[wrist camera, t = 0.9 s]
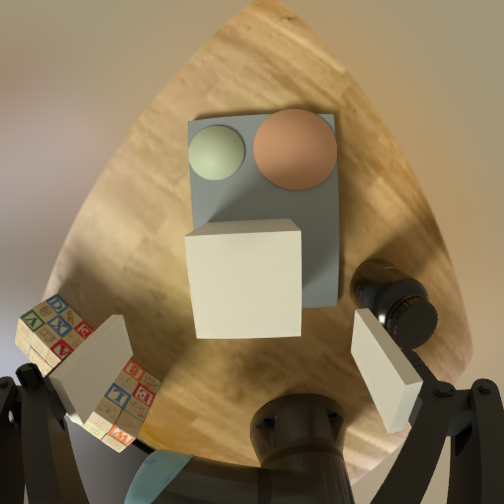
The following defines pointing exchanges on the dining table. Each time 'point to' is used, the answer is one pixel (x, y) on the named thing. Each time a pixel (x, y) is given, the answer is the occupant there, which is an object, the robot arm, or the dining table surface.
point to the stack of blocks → (68, 340)
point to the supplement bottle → (394, 302)
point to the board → (273, 184)
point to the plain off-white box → (245, 278)
